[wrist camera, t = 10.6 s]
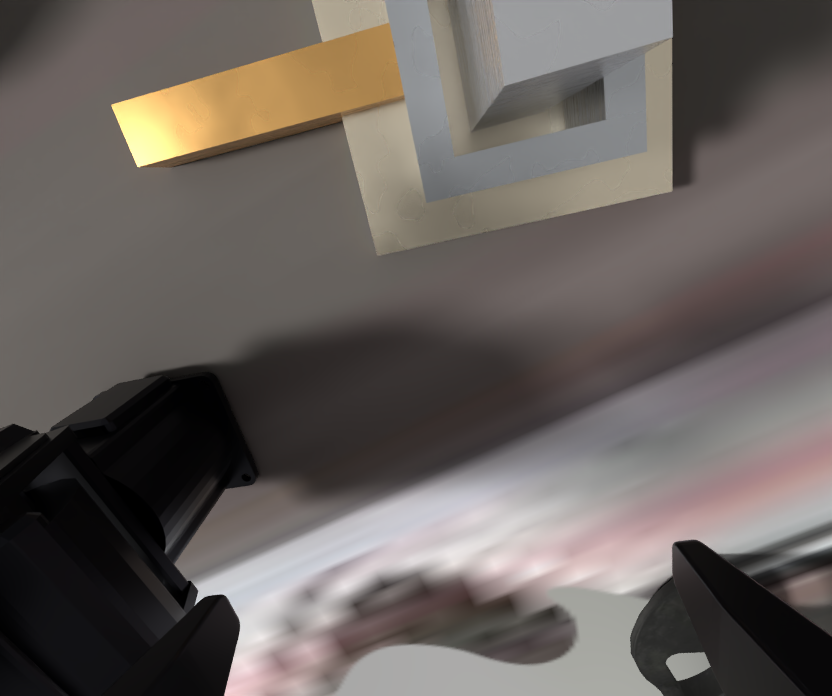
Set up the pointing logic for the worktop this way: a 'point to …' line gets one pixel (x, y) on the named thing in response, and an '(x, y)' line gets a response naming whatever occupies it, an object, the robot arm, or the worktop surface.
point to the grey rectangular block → (546, 49)
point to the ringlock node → (422, 126)
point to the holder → (669, 645)
